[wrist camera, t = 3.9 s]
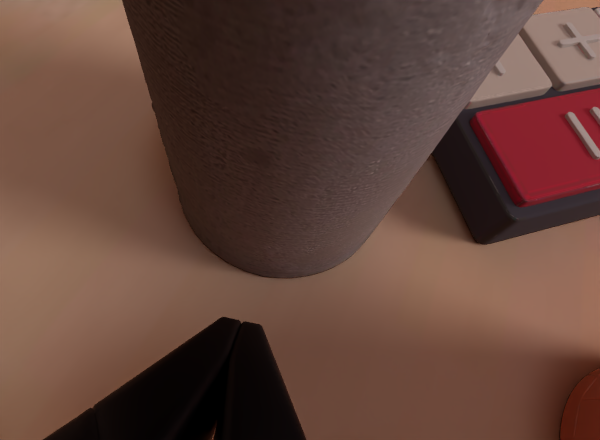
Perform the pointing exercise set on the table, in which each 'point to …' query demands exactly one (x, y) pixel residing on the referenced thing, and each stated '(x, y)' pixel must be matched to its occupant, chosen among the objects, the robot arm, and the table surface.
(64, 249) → the table surface
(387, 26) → the pillar candle
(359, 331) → the table surface
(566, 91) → the calculator
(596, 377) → the pen pot
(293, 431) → the robot arm
